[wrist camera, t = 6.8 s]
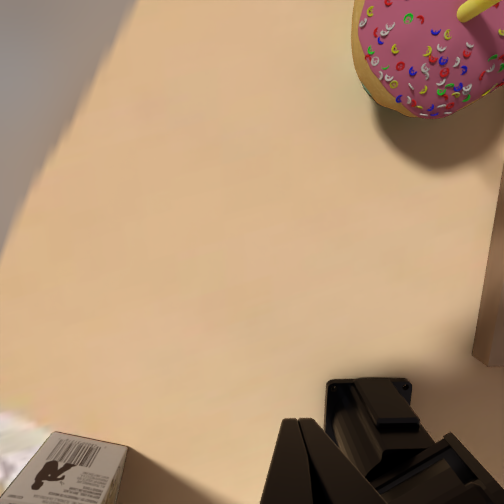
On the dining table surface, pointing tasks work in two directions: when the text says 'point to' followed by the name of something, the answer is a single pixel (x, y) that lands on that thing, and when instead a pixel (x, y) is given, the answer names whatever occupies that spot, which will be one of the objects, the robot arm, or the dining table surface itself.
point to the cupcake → (428, 53)
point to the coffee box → (69, 473)
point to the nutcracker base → (493, 296)
